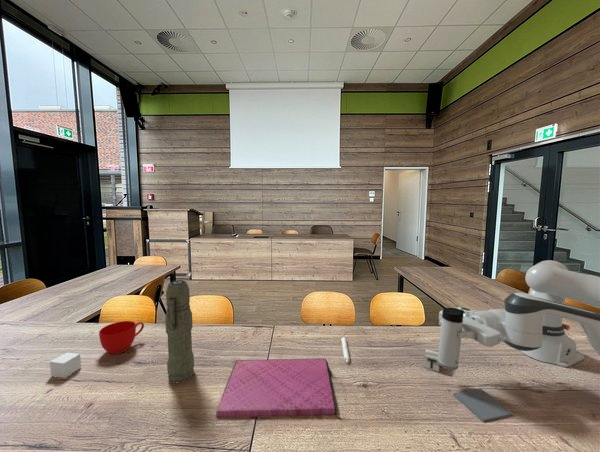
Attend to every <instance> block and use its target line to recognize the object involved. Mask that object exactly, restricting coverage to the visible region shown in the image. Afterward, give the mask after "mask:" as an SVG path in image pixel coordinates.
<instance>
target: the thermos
mask: <svg viewBox="0 0 600 452" xmlns="http://www.w3.org/2000/svg"><path fill="white" fill-rule="evenodd" d="M165 290H166V291H165V296H166V299H165V300H166V303H165V304H166V306H167V307H166V313H165V318H164V319H165V321H164V322H165V333H166V335H167V348H168V349H167V350H168V351H167V353H168V354H167V355H168V359H167V362H166V366H167V375H168V377H167V379H169V380H168V382H170V381H171V382H170V383H172V382H175V383H174V384H177V383H176V382H181V383H183V382H182V381H184V382H186V381H188V380H189V378H190V379H191V378H192V377H193V376H194V373H195V371H194V367H195V355H194V353H193V345H192V344H193V342H192V341H193V339H192V329H193V312H192V309H191V305H190V299H191V298H190V287H189V285H188V282H187V281H186V280H183V279H182V280H180V279H178V280H173V281H170V282H169V283H168V284H167V286H166V289H165ZM185 380H186V381H185Z"/></svg>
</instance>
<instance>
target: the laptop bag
mask: <svg viewBox="0 0 600 452" xmlns="http://www.w3.org/2000/svg"><path fill="white" fill-rule="evenodd" d="M333 375H334V373H333V372H332V370H331V368H330V367H329V365H328V361H327V358H281V359H280V358H279V359H277V358H275V359H243V360H241V359H239V360H235V362H234V365H233V367H232V370H231V373H230V376H229V378H228V380H227V382H226V386H225V387H224V391H223V393H222V395H221V398H220V400H219V403H218V405H217V408H216V412H215V413H216V414H215V416H216V417H217V418H238V417H239V418H240V417H241V418H243V417H245V418H246V417H247V418H249V417H250V418H251V417H254V418H255V417H257V418H258V417H260V418H261V417H306V416H307V417H313V416H315V417H316V416H335V415H337V404H336V399H335V395H334V390H333V384H332V381H331V380H332V379H331V377H332V376H333ZM334 378H335V379H337V378H336V376H334ZM341 385H342V387H343V388H344V390H346V389H345V386H344V385H343V384H341ZM345 396H346V398H344V400H345V401H346V400H347V396H348V395H345Z"/></svg>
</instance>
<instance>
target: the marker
mask: <svg viewBox="0 0 600 452" xmlns="http://www.w3.org/2000/svg"><path fill="white" fill-rule="evenodd" d="M341 347H342V354H343V360H344V362H345V363H346V364H349V362H350V354H349V349H348V348H349V347H348V344H347V339H346V337H345V336H343V337H341Z"/></svg>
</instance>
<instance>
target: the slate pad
mask: <svg viewBox="0 0 600 452" xmlns="http://www.w3.org/2000/svg"><path fill="white" fill-rule="evenodd" d="M452 396H453V397H454V398H456V399H457V400H458V401H459V402H460V403H461V404H463V406H465V407H466V409H468V410H469V411H470V412H471V413H472V414H473V415H475V417H476V418H478V419H479V420H480V421H481V422H483V423H484V422H489V421H493V420H498V419H502V418H507V417H511V416H514V413H513V412H512V411H511V410H509V409H508V408H507V407H506V406H504V404H501V402H499V401H498V400H497V399H495V398H494V397H493V396H491V395H490V394H489V393H488V392H486V391H485V390H483V389H482V388H476V389H469V390H464V391H459V392H455V393H452Z"/></svg>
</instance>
